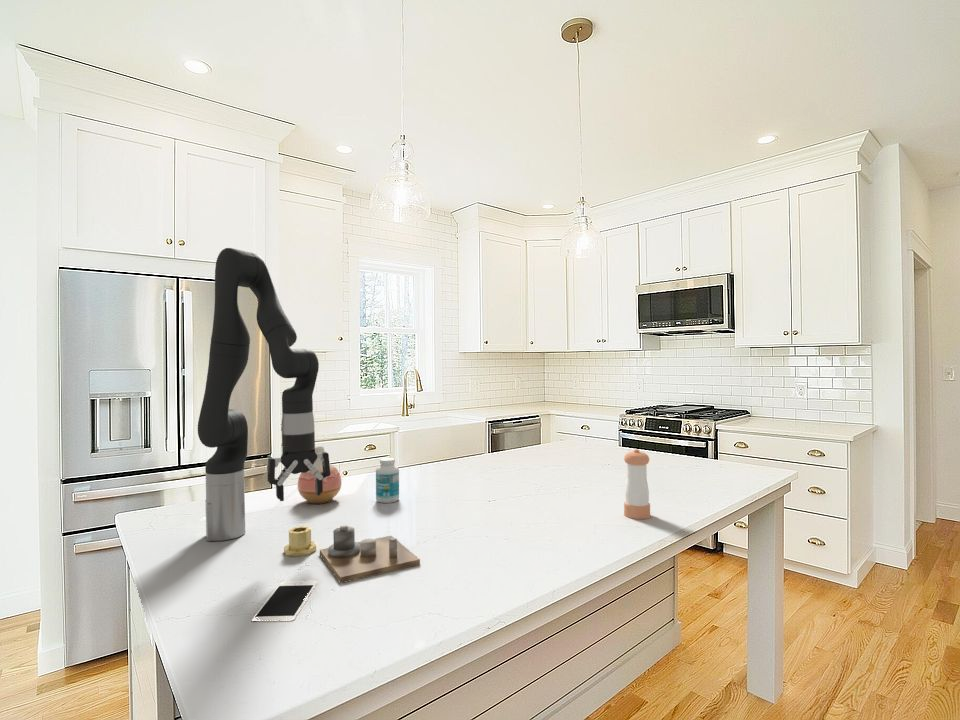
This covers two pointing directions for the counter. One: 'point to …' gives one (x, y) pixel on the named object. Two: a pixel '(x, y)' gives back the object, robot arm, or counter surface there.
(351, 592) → the counter surface
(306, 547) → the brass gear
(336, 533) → the board
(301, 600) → the cell phone
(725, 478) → the counter surface
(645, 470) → the salt shaker
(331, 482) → the vase
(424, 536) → the counter surface
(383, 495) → the pill bottle
